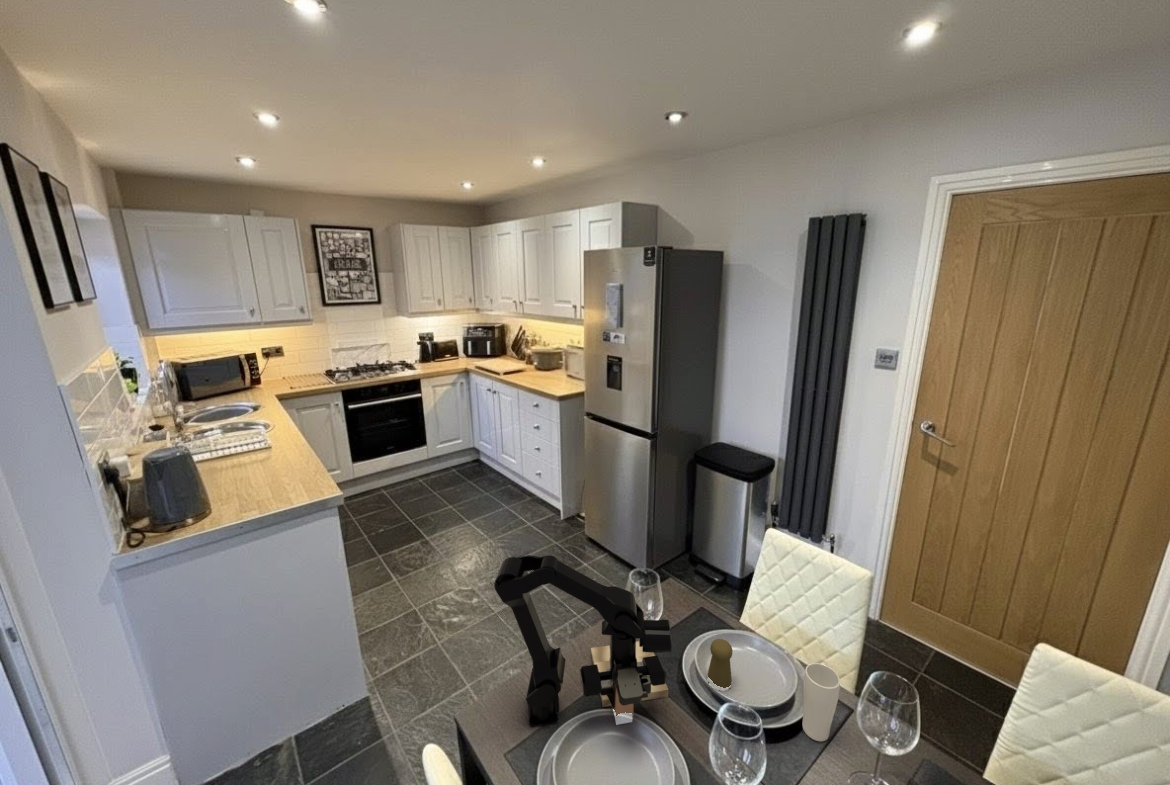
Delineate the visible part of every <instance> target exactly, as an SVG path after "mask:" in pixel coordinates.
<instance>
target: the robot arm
mask: <svg viewBox="0 0 1170 785" xmlns="http://www.w3.org/2000/svg"><path fill="white" fill-rule="evenodd" d="M530 571H531V572H530ZM544 585H551V586H553V587H555V588H557V589H558V590H560V591H562V592H563V593H566V594H568V595H570V596H571V597H574V598H575V599H577V600H579V601H581V602H582V603H584V604H586V605H588V606H590V607H591V608H592V609H594V610H596V611H597V612H598V614H599V615H600V616H601V617H602V619H603V620H602V621H601V635H603V636H609V645H610V669H606V671H605V672H599V671H598V666H597V664H595V665H593V664H590V665H583V666H581V667H580V669H579V677H580V683H581V689H582V693H583V696H585V697H591V696H598V695H600V694H601V695H607V696H608V698H609V700H610V703H611V705H612V706H611V709H612V708H615V702H614V695H613V694H614V692H613V688H612V683H613V684H616V687H617V692H618V697H619V702H620V704H621V705H624V706H625V705H628V704H633V706H634V704H640V703H641V702H642V701H641V699H642V698H646V697H648V694H649V693H651V685H653V686H657V685H663V684H665V683H666V684H667V671H666V669H665V667H664V664H663V662H662V659H661V657H660V656H659V655H655V656H650V657H644V658H642V662H637V659H636V642H637V639H638V641H639V647H642V651H643V652H654V654H655V653H656V654H657V653H659V654H660V653H662V654H663V653H664V654H671V653H672V642H671V641H672V640H671V631H670V629H671V626H670V620H669V619H659V620H658V619H645V615H644V614H645V613H644V610H643V609H642V608H641V607H640V605H639V604H638V603H637V601H636V600H637V599H636V597H635V595H634V594H633V593H632V592H631V591H629V590H627V589H624V588H621V587H619V586H613V585H612V586H606V585H604V584H601V583H599V581H596V580H594V579H593V578H590V577H589V576H587V575H585V574H583V573H581V572H579V571H578V570H577V569H574V568H573V567H570V566H569V565H567V564H565V563H563V562H561V561H559V559H558V558H557V557H556V556H554V555H552V554H551V555H550V554H549V555H548V554H547V555H544V556H537V555H531V554H527V555H523V556H518V557H515V556H511V557H507V558H505V559H504V560H503V561H502V563H501V565H500V568H499V570H498V572H497V575H496V577H495V581H494V584H493V588H494V590H495V592H496V594H497V595H498V597H499V599H500V600H501V602H502V603H503V604H505V605H507V606H508V607H510V609H511V611H512V613H513V617H514V618H515V621H516V623H517V625H518V628H519V632H520V633H521V635H522V637H523V640H524V642H525V646H526V648H527V651H528V653H529V656H530V657H531V658H530V659H531V661H532V669H531V673H530V676H529V683H528V687H527V692H526V696H525V697H526V698H525V701H526V703H527V705H528V719H529V720H528V721H529V722H528V725H529V727H530V728H533V727H538V726H540V727H541V726H546V725H552V724H557V723H558V722H559V717H558V714H559V713H560V696H559V694H560V693H561V691H562V684H563V683H564V676H565V675H564V674H565V667H566V658H565V657H564V655H563V653H562V648H561V647H560V646H559V647H557V648H554V647H553V646H551V645H550V643H549V640H548V638H547V636H546V632H545V629H544V627H543V625H542V623H541V621H540V617H539V615H538V613H537V609H536V606H535V604H534V601H533V599H532V596H531V595H530V594H531V593H530V592H531V591H533V590H535V589H537V588H539V587H541V586H544Z"/></svg>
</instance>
